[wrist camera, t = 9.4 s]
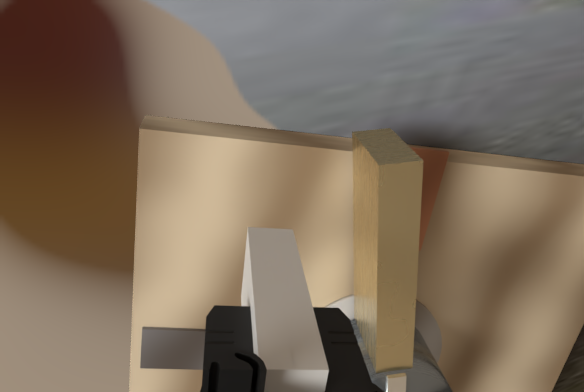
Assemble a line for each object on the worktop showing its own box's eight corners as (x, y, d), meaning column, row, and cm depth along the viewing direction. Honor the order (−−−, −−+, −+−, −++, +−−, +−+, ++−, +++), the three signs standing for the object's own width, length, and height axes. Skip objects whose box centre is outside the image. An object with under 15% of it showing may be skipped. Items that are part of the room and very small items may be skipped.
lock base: (624, 159, 26) (659, 176, 24) (490, 463, 35) (507, 494, 33) (146, 103, 22) (138, 118, 20) (130, 467, 31) (124, 503, 29)
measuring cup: (422, 395, 28) (455, 463, 24) (315, 412, 27) (330, 484, 24) (440, 122, 21) (489, 158, 18) (299, 137, 21) (318, 176, 17)
